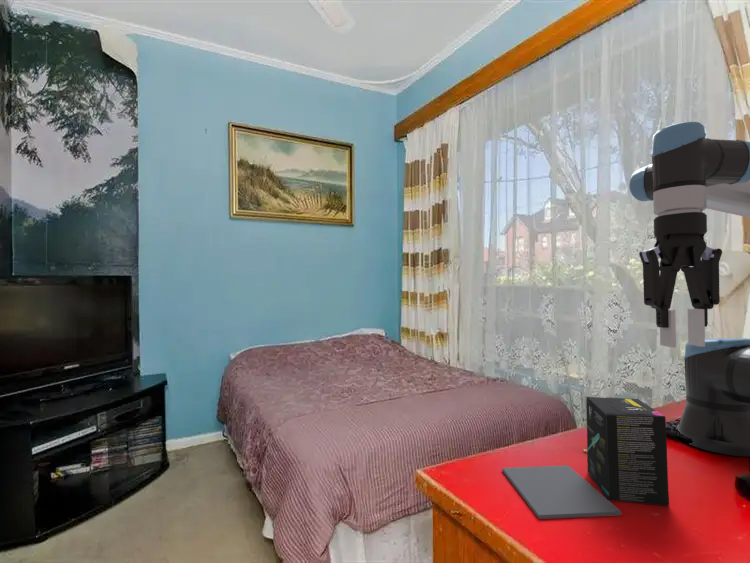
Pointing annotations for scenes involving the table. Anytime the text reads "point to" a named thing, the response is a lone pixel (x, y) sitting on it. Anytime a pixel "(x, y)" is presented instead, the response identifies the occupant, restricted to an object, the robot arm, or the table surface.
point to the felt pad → (559, 492)
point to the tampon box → (627, 450)
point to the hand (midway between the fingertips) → (682, 345)
